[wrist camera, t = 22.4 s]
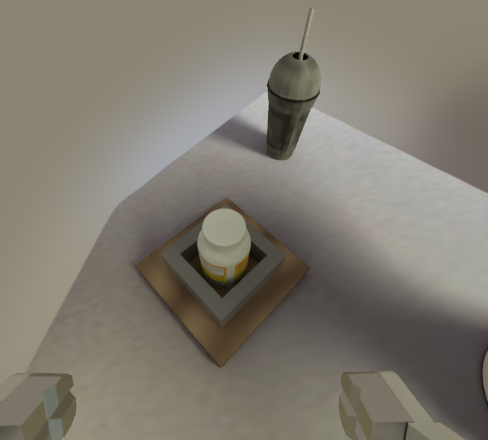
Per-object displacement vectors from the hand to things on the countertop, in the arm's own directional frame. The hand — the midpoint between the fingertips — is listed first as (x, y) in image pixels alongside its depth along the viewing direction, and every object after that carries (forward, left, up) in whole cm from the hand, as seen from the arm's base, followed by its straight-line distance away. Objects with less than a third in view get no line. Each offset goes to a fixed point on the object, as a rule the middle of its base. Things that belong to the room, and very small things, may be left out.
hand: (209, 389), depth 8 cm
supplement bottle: (+9, -9, -20) cm, 24 cm away
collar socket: (+9, -9, -22) cm, 25 cm away
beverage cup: (+18, -30, -22) cm, 42 cm away
